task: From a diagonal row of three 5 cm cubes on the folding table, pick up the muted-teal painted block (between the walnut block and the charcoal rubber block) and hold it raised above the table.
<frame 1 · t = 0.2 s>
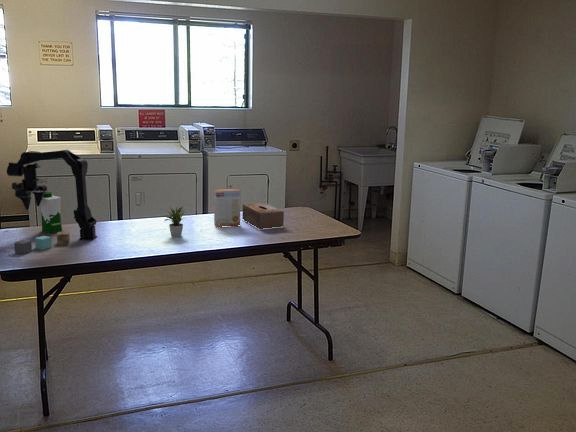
hand: (32, 207, 274), 14 cm above the table, fingers open, 9 cm apart
charcoal block: (23, 252, 250), on the table
walnut block: (63, 243, 266), on the table
cracker box: (227, 226, 310), on the table
tissue box cover: (262, 224, 318), on the table
milk carton: (52, 231, 287), on the table
teal block: (43, 247, 257), on the table
house plant: (176, 235, 286), on the table
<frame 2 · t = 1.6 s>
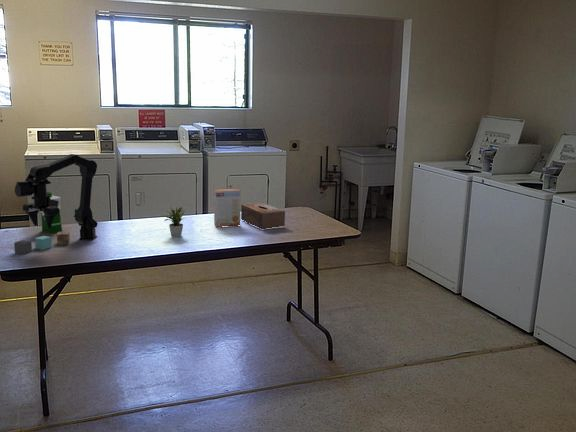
hand: (42, 227, 255), 10 cm above the table, fingers open, 9 cm apart
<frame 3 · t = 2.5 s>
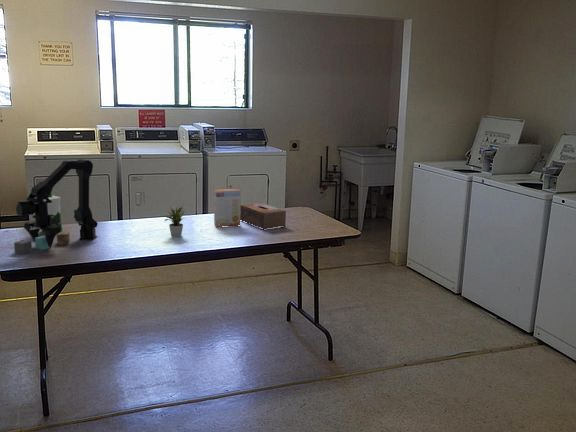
hand: (43, 245, 257), 1 cm above the table, fingers open, 9 cm apart
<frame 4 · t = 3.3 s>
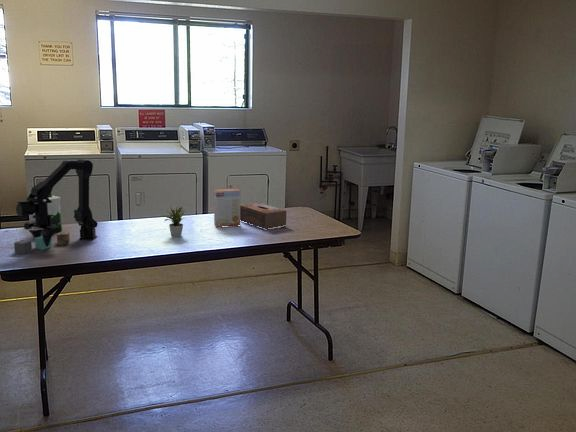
hand: (43, 245, 257), 1 cm above the table, fingers closed on teal block, 5 cm apart
teal block: (43, 247, 257), on the table, touching gripper
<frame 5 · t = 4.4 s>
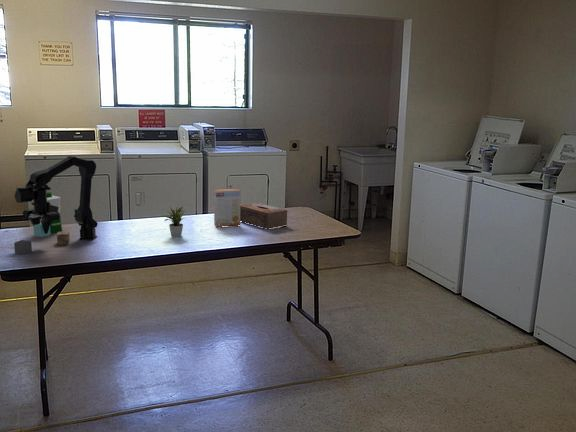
hand: (42, 232, 256), 7 cm above the table, fingers closed on teal block, 5 cm apart
teal block: (42, 235, 256), point 6 cm above the table, touching gripper
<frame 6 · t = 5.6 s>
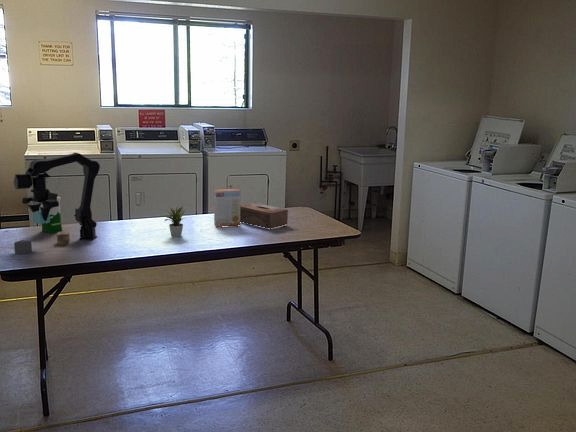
hand: (41, 219, 258), 12 cm above the table, fingers closed on teal block, 5 cm apart
teal block: (41, 222, 258), point 11 cm above the table, touching gripper
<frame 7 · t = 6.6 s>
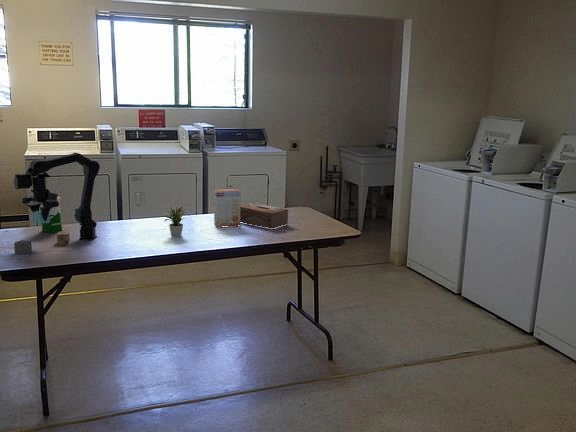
hand: (41, 219, 258), 12 cm above the table, fingers closed on teal block, 5 cm apart
teal block: (41, 222, 258), point 11 cm above the table, touching gripper
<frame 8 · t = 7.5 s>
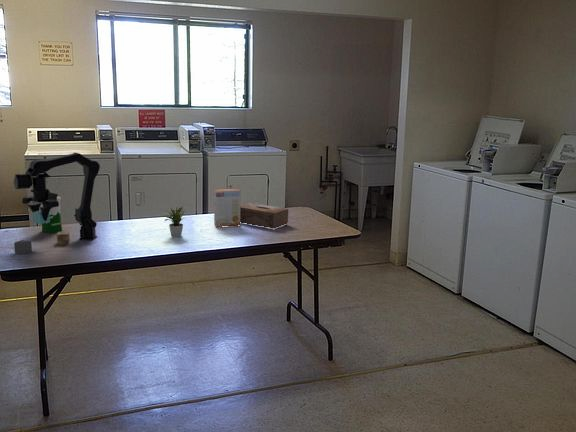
hand: (41, 219, 258), 12 cm above the table, fingers closed on teal block, 5 cm apart
teal block: (41, 222, 258), point 11 cm above the table, touching gripper
at the end: the gripper is holding teal block; teal block point 11.4 cm above the table; charcoal block moved 0.1 cm from its start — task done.
